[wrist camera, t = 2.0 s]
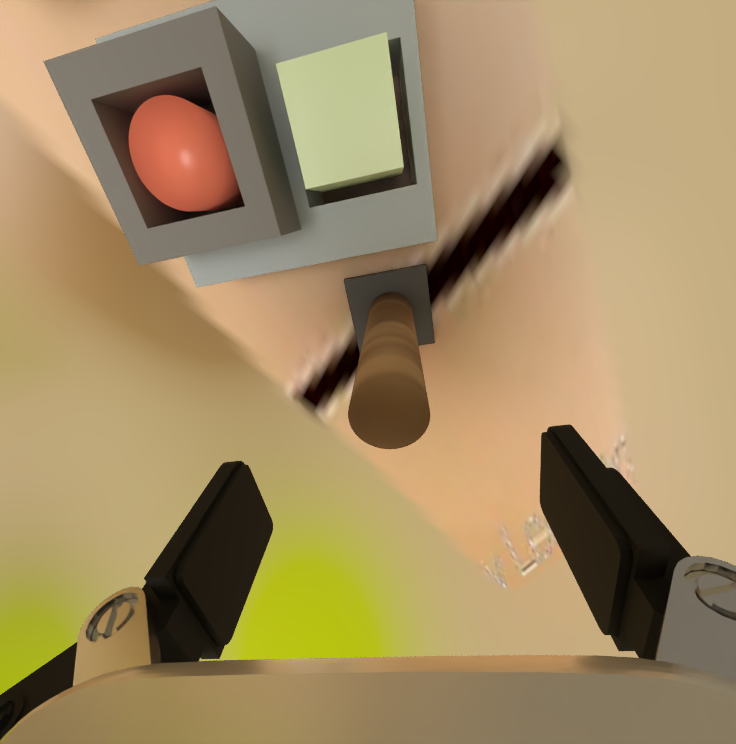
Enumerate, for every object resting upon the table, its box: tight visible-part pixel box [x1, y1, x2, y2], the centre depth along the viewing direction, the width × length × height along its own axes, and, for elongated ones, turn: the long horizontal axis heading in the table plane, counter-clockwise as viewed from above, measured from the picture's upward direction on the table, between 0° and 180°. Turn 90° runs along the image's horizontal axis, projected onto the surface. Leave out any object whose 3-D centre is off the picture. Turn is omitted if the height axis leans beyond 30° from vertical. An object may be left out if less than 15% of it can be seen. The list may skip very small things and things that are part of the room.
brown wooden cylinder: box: [348, 292, 430, 449], centre depth 20 cm, size 3×3×14 cm
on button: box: [276, 32, 404, 192], centre depth 17 cm, size 5×5×5 cm
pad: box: [344, 264, 435, 354], centre depth 26 cm, size 6×6×1 cm
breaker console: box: [43, 0, 437, 287], centre depth 18 cm, size 12×15×9 cm
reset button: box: [129, 95, 245, 211], centre depth 17 cm, size 4×4×5 cm
